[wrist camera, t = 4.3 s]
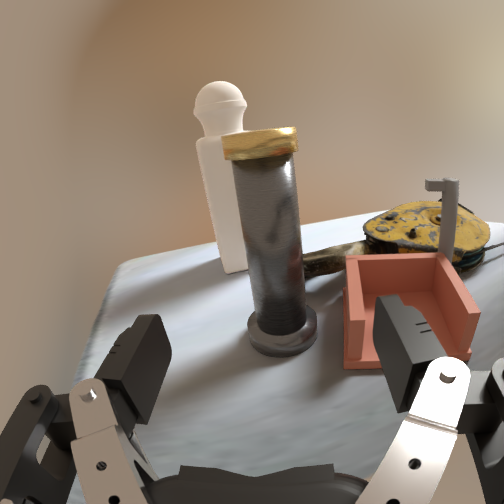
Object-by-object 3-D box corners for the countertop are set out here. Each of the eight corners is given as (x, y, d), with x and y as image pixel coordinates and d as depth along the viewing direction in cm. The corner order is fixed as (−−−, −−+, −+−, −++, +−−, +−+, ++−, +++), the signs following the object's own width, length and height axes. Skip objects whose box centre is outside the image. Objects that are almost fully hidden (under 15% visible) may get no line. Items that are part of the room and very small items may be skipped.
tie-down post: (319, 314, 27) (305, 125, 20) (314, 358, 22) (298, 128, 15) (257, 313, 28) (229, 133, 22) (242, 355, 23) (200, 140, 17)
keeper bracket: (444, 284, 27) (455, 178, 23) (479, 358, 17) (516, 219, 13) (342, 289, 30) (339, 178, 25) (343, 369, 20) (346, 221, 16)
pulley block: (264, 212, 35) (452, 183, 39) (268, 254, 38) (446, 216, 42) (310, 287, 23) (520, 225, 27) (308, 337, 27) (508, 263, 30)
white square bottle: (276, 265, 37) (250, 73, 28) (222, 277, 36) (187, 81, 27) (263, 246, 43) (239, 82, 34) (216, 256, 42) (186, 90, 33)
